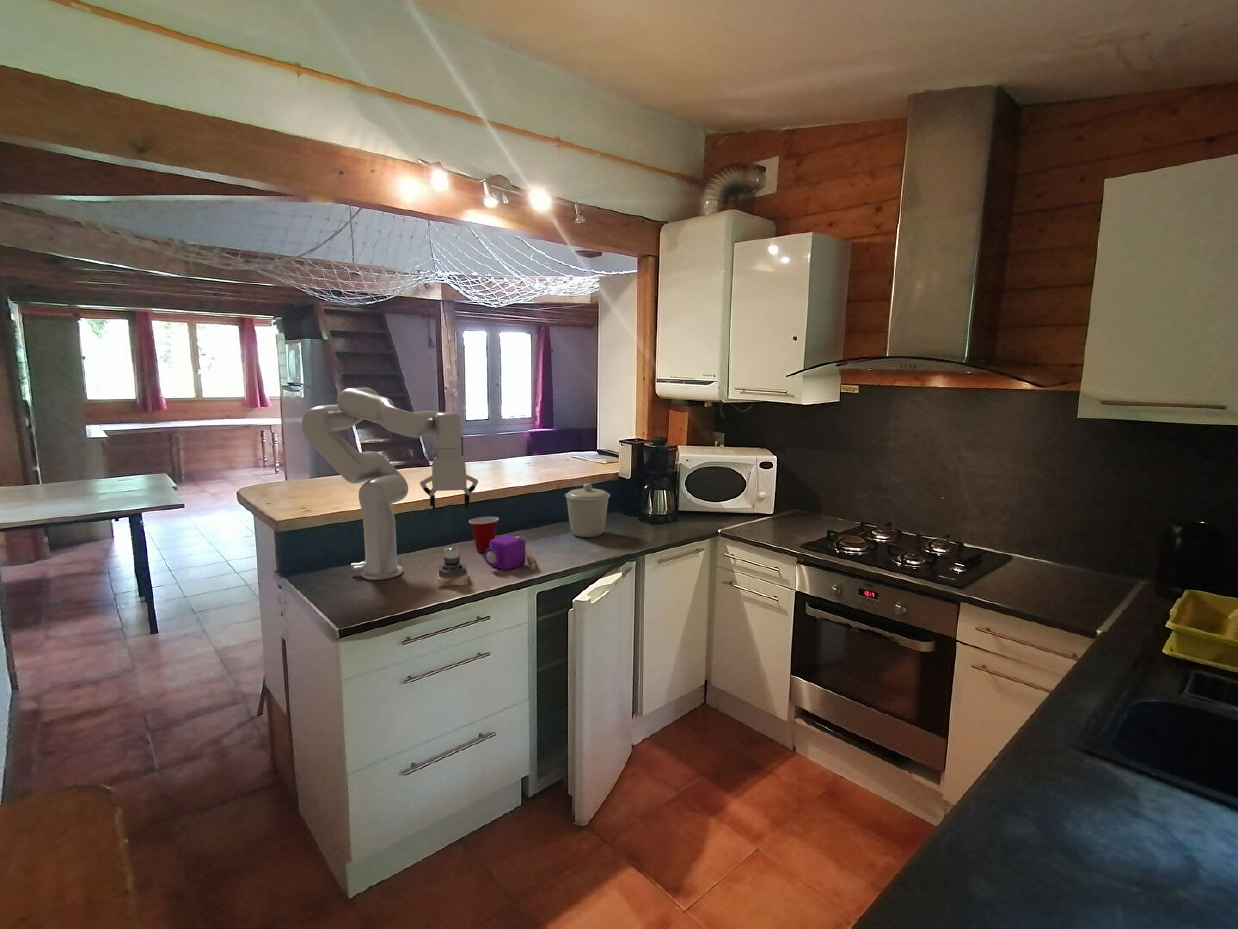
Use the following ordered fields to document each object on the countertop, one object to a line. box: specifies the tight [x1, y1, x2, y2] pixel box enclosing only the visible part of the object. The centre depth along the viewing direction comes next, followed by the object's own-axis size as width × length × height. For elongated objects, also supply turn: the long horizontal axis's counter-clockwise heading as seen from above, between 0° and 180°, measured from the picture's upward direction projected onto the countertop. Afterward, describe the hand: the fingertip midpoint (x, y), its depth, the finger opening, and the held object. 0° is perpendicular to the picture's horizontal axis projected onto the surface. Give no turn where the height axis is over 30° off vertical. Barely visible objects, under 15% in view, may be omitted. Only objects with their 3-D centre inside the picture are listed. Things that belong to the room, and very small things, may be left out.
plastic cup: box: [468, 516, 500, 553], centre depth 224 cm, size 11×11×12 cm
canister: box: [564, 483, 611, 538], centre depth 246 cm, size 18×18×21 cm
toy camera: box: [484, 534, 526, 570], centre depth 206 cm, size 11×14×10 cm
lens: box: [443, 546, 461, 571], centre depth 191 cm, size 5×5×8 cm
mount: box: [437, 562, 469, 588], centre depth 192 cm, size 9×9×4 cm
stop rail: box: [525, 547, 536, 571], centre depth 210 cm, size 2×14×4 cm, turn 16°
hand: (450, 507), depth 189 cm, fingers open, 9 cm apart
